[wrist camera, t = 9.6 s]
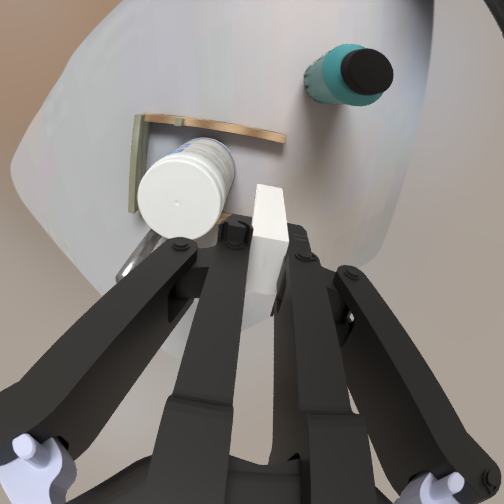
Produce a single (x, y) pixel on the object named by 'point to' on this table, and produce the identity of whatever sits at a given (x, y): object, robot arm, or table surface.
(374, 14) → the table surface
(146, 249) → the hook post
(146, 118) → the bay board
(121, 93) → the table surface
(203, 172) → the supplement tub
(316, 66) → the beverage bottle
